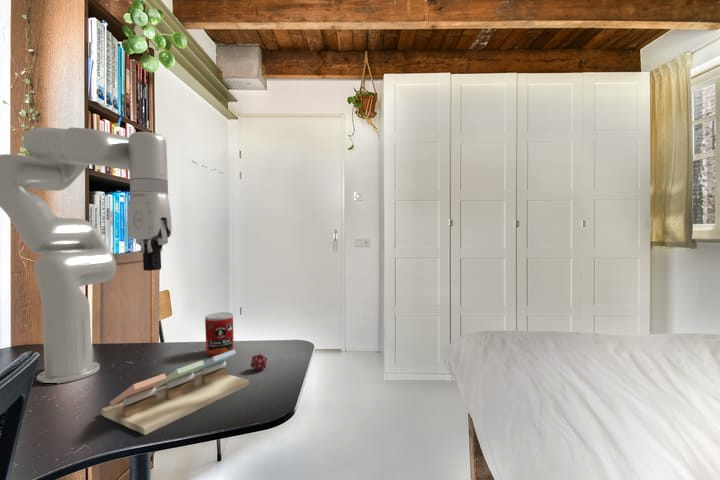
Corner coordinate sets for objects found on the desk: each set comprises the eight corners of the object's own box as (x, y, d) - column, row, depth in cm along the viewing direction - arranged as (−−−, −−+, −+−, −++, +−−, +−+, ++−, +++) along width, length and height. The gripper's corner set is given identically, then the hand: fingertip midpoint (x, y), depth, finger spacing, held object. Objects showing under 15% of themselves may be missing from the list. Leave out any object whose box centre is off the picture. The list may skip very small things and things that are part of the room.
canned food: (206, 358, 106) (205, 319, 106) (205, 350, 113) (204, 313, 113) (235, 354, 109) (234, 316, 109) (232, 346, 117) (231, 311, 116)
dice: (259, 366, 99) (258, 351, 99) (270, 369, 97) (270, 354, 96) (247, 370, 96) (247, 355, 96) (259, 374, 93) (258, 358, 93)
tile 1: (113, 414, 73) (109, 401, 73) (144, 401, 78) (140, 389, 78) (137, 397, 68) (133, 383, 69) (168, 384, 73) (164, 372, 74)
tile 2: (156, 396, 80) (152, 385, 80) (182, 386, 85) (178, 375, 86) (180, 380, 75) (176, 368, 76) (206, 370, 80) (202, 359, 81)
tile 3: (192, 381, 87) (188, 371, 88) (214, 372, 92) (210, 363, 93) (216, 367, 83) (212, 356, 83) (238, 358, 88) (234, 348, 88)
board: (101, 415, 74) (100, 400, 74) (206, 373, 95) (206, 361, 94) (144, 435, 66) (144, 418, 66) (249, 385, 87) (248, 372, 87)
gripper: (114, 190, 86) (117, 270, 86) (152, 185, 78) (155, 273, 79) (147, 192, 92) (149, 267, 93) (185, 188, 85) (188, 269, 85)
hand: (152, 269), depth 86 cm, fingers closed
